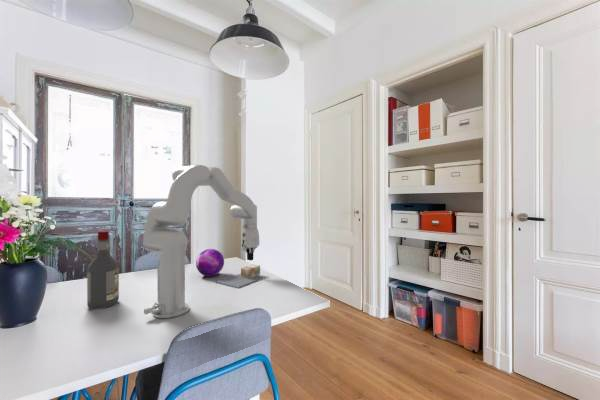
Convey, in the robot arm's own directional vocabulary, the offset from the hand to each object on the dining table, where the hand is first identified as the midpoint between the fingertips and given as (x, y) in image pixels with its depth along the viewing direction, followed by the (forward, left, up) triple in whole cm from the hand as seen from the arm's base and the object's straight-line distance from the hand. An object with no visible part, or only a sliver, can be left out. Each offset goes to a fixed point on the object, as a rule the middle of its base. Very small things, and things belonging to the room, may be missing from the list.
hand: (250, 259), depth 149 cm
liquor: (-61, +24, -10) cm, 66 cm away
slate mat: (-7, 0, -10) cm, 12 cm away
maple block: (-5, 0, -6) cm, 8 cm away
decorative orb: (-10, +21, -10) cm, 25 cm away
